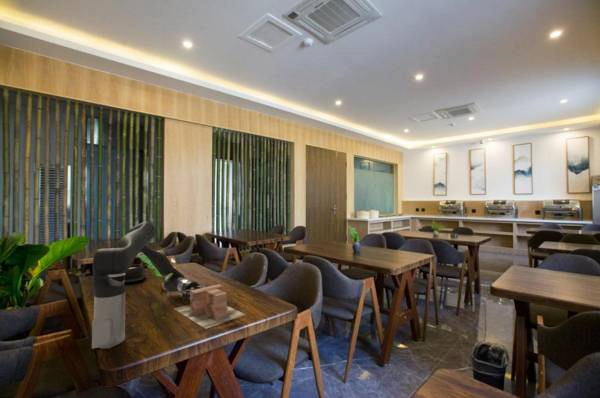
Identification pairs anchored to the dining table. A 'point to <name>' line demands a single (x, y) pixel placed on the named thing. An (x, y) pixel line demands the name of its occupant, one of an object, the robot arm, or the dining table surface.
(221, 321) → the board
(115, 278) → the coffee mug
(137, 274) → the casserole
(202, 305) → the T block
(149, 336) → the dining table surface
